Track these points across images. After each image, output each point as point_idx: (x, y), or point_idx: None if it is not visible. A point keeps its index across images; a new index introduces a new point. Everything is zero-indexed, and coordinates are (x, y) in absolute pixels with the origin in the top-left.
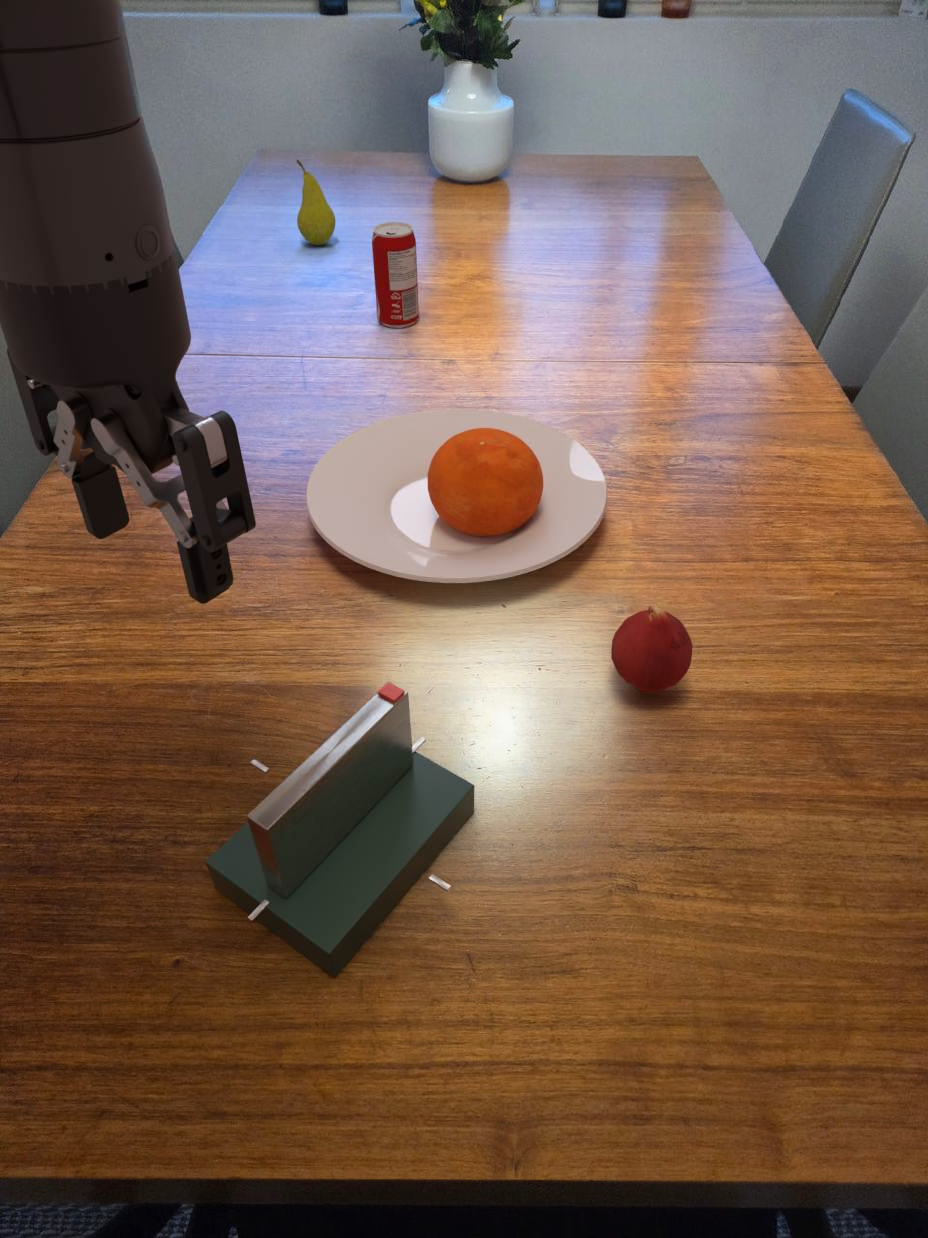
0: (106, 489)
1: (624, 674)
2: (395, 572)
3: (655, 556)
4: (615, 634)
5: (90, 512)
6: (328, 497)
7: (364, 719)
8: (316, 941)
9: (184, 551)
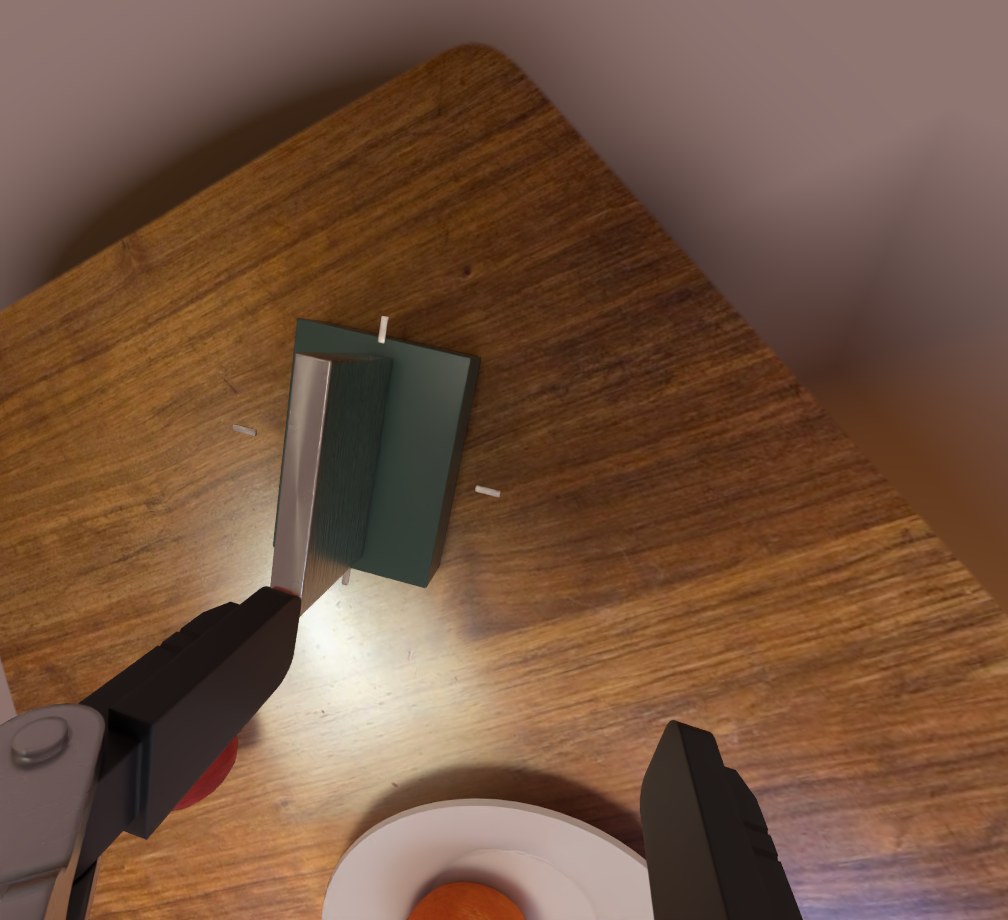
0: (676, 913)
1: None
2: (497, 805)
3: (285, 884)
4: (216, 768)
5: (693, 802)
6: None
7: (290, 552)
8: (313, 324)
9: (144, 695)
